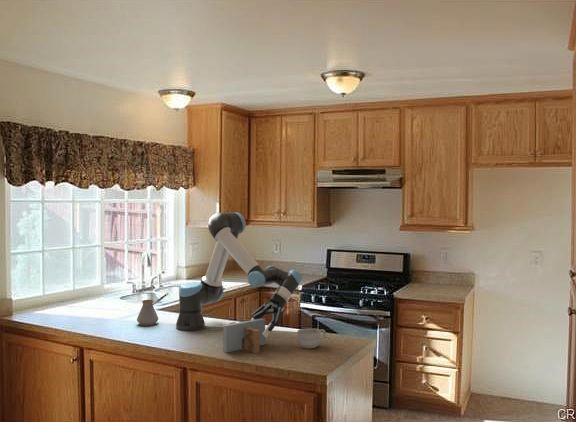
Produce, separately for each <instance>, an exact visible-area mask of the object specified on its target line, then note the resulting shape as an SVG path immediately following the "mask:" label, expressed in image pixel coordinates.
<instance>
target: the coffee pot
mask: <svg viewBox="0 0 576 422" xmlns="http://www.w3.org/2000/svg"><path fill="white" fill-rule="evenodd" d="M169 296H171V294H170V293H169V292H167V293H165V294H163V295H162V296H161V297H159V298H158V299H157V300H156V301H154V299H142V300H141V303H142V306H141V309H140V311H139V313H138V316H137V317H136V321H137V323H138V324H139V325H140V326H143V327H144V326H146V327H149V326H154V325H156V323H157V322H158V321H159V316H158V314H157V312H156V309H155V306H154V305H156V304H158V303H159V302H160V301H162V300H163V299H164V298H165V297H169Z"/></svg>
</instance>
